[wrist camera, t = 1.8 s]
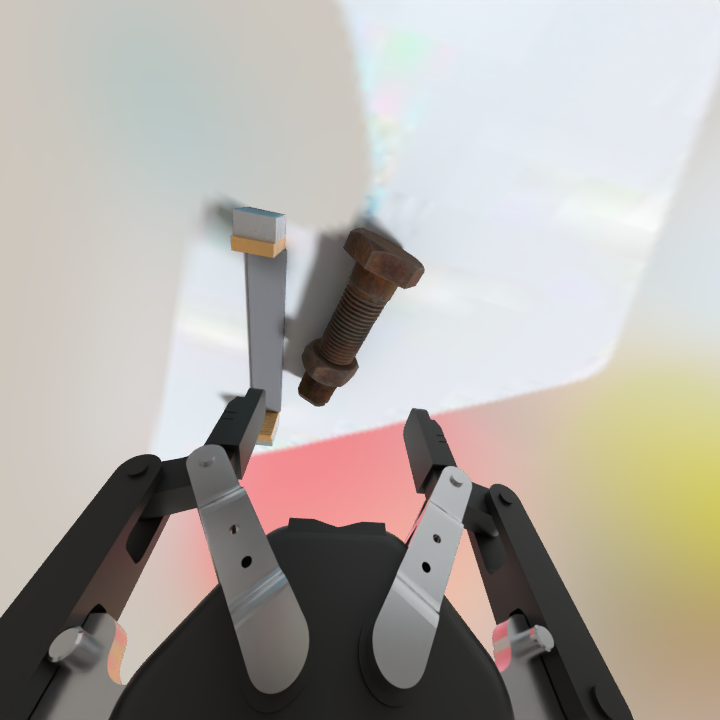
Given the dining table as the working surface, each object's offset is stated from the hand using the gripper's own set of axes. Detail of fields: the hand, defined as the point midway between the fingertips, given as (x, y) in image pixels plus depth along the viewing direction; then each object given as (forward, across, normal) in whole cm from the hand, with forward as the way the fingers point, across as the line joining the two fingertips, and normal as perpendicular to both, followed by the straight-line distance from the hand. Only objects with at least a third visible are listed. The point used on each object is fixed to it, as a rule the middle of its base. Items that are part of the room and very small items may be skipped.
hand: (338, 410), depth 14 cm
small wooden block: (+11, +6, +12) cm, 17 cm away
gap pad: (+10, +6, +3) cm, 13 cm away
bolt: (+11, 0, -1) cm, 11 cm away
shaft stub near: (+10, +6, -7) cm, 14 cm away
